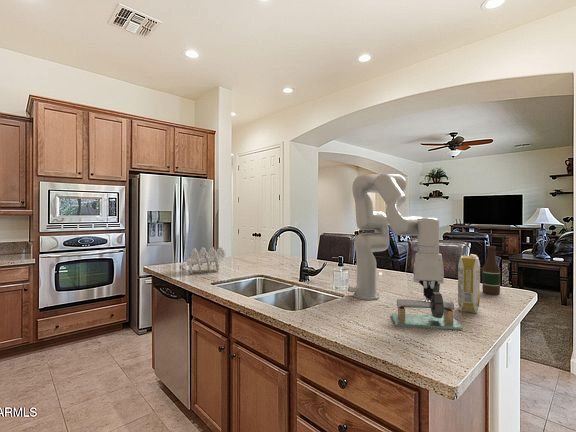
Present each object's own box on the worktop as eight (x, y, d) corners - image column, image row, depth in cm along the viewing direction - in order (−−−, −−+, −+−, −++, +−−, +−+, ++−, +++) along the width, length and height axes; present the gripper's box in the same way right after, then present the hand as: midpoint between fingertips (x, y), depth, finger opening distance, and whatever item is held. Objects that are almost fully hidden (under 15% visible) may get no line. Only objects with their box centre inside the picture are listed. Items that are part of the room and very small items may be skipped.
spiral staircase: (186, 278, 222) (222, 273, 233) (190, 271, 207) (227, 266, 219) (183, 253, 228) (217, 249, 240) (186, 245, 213) (223, 241, 225)
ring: (436, 320, 118) (436, 296, 118) (430, 312, 127) (430, 290, 127) (443, 320, 118) (443, 296, 117) (437, 312, 126) (437, 290, 126)
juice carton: (479, 314, 132) (479, 256, 131) (457, 311, 136) (457, 254, 135) (479, 308, 139) (480, 253, 139) (459, 305, 144) (459, 252, 143)
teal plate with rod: (395, 326, 119) (395, 302, 119) (391, 315, 131) (391, 294, 131) (462, 330, 115) (462, 306, 115) (452, 318, 127) (452, 296, 127)
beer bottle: (483, 294, 162) (484, 246, 161) (481, 290, 169) (481, 245, 169) (501, 295, 159) (502, 247, 158) (498, 291, 166) (498, 245, 166)
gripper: (409, 251, 120) (409, 299, 120) (452, 251, 117) (452, 301, 117) (405, 248, 127) (405, 294, 128) (446, 249, 124) (446, 296, 125)
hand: (428, 297), depth 123 cm, fingers closed
